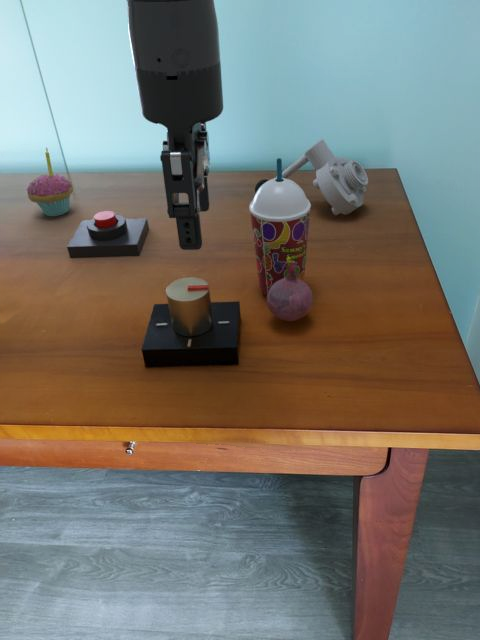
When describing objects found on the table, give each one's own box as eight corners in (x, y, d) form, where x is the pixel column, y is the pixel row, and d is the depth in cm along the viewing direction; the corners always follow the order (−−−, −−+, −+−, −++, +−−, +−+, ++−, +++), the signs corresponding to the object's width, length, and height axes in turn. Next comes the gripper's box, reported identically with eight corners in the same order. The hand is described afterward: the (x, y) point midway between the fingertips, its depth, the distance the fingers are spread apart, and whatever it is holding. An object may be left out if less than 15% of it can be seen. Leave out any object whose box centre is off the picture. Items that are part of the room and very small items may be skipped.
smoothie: (293, 311, 76) (293, 175, 63) (244, 297, 79) (234, 165, 66) (317, 282, 81) (322, 153, 69) (270, 270, 85) (266, 144, 72)
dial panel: (145, 367, 68) (140, 348, 66) (157, 321, 75) (153, 302, 73) (238, 364, 67) (236, 345, 65) (240, 318, 75) (239, 300, 73)
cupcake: (56, 199, 110) (38, 141, 102) (88, 206, 107) (71, 146, 99) (25, 217, 104) (4, 156, 96) (58, 224, 101) (38, 161, 93)
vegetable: (317, 313, 75) (320, 251, 69) (303, 338, 71) (303, 275, 65) (278, 305, 77) (277, 244, 71) (261, 329, 73) (258, 266, 67)
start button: (93, 229, 90) (91, 220, 89) (98, 220, 93) (96, 211, 92) (114, 229, 90) (112, 219, 89) (119, 219, 93) (116, 210, 92)
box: (70, 258, 90) (63, 237, 88) (85, 231, 98) (79, 211, 96) (139, 255, 90) (135, 234, 88) (149, 228, 98) (145, 208, 95)
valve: (304, 238, 112) (261, 179, 109) (381, 187, 100) (336, 119, 96) (287, 258, 105) (240, 195, 101) (368, 205, 92) (319, 132, 89)
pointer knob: (169, 337, 67) (162, 299, 64) (175, 312, 72) (168, 276, 68) (211, 335, 67) (207, 298, 64) (214, 311, 71) (210, 274, 68)
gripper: (148, 42, 51) (170, 200, 62) (115, 79, 40) (149, 263, 51) (225, 40, 51) (234, 199, 61) (213, 77, 40) (226, 262, 51)
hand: (195, 228), depth 56 cm, fingers open, 8 cm apart
